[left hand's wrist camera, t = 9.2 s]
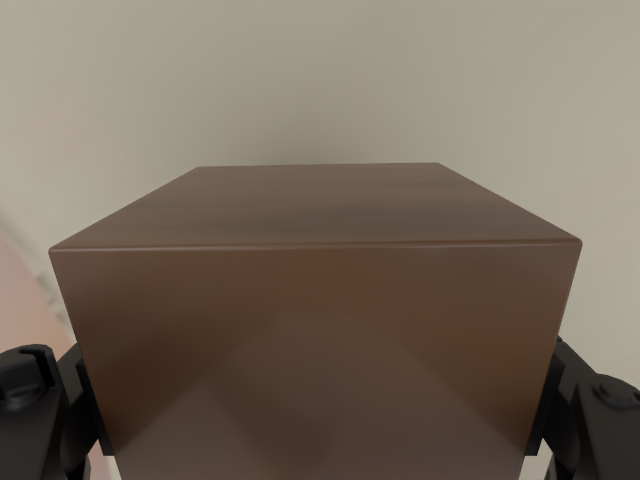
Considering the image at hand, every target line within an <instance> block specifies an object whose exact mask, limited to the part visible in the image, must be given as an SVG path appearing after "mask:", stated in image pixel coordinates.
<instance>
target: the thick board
mask: <svg viewBox="0 0 640 480" xmlns="http://www.w3.org/2000/svg"><path fill="white" fill-rule="evenodd" d="M581 248H582V241H581V239H579V238H577V237H575V236H574V235H572V234H570V233H568V232H566V231H564V230H562V229H560V228H559V227H557V226H555V225H553V224H551V223H549V222H547V221H546V220H544V219H542V218H540V217H538V216H536V215H534V214H533V213H531V212H529V211H527V210H525V209H523V208H521V207H520V206H518V205H516V204H514V203H512V202H510V201H508V200H506V199H505V198H503V197H501V196H499V195H497V194H495V193H493V192H492V191H490V190H488V189H486V188H484V187H482V186H480V185H479V184H477V183H475V182H473V181H471V180H469V179H467V178H465V177H464V176H462V175H460V174H458V173H456V172H454V171H452V170H451V169H449V168H447V167H445V166H443V165H441V164H439V163H389V164H333V165H276V166H220V167H197V168H195V169H193V170H191V171H189V172H188V173H186V174H184V175H182V176H180V177H178V178H177V179H175V180H173V181H171V182H169V183H167V184H166V185H164V186H162V187H160V188H158V189H157V190H155V191H153V192H151V193H149V194H147V195H146V196H144V197H142V198H140V199H138V200H136V201H135V202H133V203H131V204H129V205H127V206H126V207H124V208H122V209H120V210H118V211H116V212H115V213H113V214H111V215H109V216H107V217H105V218H104V219H102V220H100V221H98V222H96V223H95V224H93V225H91V226H89V227H87V228H85V229H84V230H82V231H80V232H78V233H76V234H74V235H73V236H71V237H69V238H67V239H65V240H63V241H62V242H60V243H58V244H56V245H54V246H53V247H51V248H50V249H49V252H48V254H49V257H50V260H51V263H52V266H53V269H54V272H55V275H56V278H57V281H58V284H59V287H60V291H61V294H62V297H63V300H64V303H65V306H66V309H67V312H68V315H69V318H70V321H71V324H72V328H73V331H74V334H75V337H76V340H77V343H78V346H79V349H80V352H81V355H82V358H83V361H84V365H85V368H86V371H87V374H88V377H89V380H90V383H91V386H92V389H93V392H94V395H95V398H96V402H97V405H98V408H99V411H100V414H101V417H102V420H103V423H104V426H105V429H106V432H107V435H108V439H109V442H110V445H111V448H112V451H113V454H114V457H115V460H116V463H117V466H118V469H119V472H120V476H121V479H122V480H518V479H519V476H520V472H521V468H522V465H523V461H524V457H525V454H526V450H527V446H528V443H529V439H530V435H531V432H532V428H533V424H534V421H535V417H536V413H537V410H538V406H539V402H540V399H541V395H542V391H543V388H544V384H545V380H546V377H547V373H548V369H549V366H550V362H551V358H552V355H553V351H554V347H555V344H556V340H557V336H558V333H559V329H560V325H561V322H562V318H563V314H564V311H565V307H566V303H567V300H568V296H569V292H570V289H571V285H572V281H573V278H574V274H575V270H576V267H577V263H578V259H579V256H580V252H581Z"/></svg>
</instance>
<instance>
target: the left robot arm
mask: <svg viewBox="0 0 640 480" xmlns="http://www.w3.org/2000/svg"><path fill="white" fill-rule="evenodd" d="M542 438H544V440H545V441H546V443H547V444H548V446H549V447H550V449H551V451H552V452H553V454H552V457H551V460H550V463H549V466H548V469H547V472H546V475H545V478H544V480H640V391H639V390H638V389H637V388H635V387H633V386H631V385H630V384H628V383H626V382H624V381H622V380H620V379H617V378H614V377H611V376H608V375H604V374H597V373H596V372H595V371H594V370H593V369H592V368H591V367H590V366H589V365H588V364H587V363H586V362H585V361H584V360H583V359H582V358H581V357H580V356H579V355H578V354H577V353H576V352H575V351H574V350H573V349H572V348H571V347H570V346H569V345H568V344H566V343H565V342H563V341H562V339H561V338H560V337H559V336H557V340H556V344H555V347H554V351H553V355H552V358H551V362H550V366H549V369H548V373H547V377H546V380H545V384H544V388H543V391H542V395H541V399H540V402H539V406H538V410H537V413H536V417H535V421H534V424H533V428H532V432H531V435H530V439H529V443H528V446H527V450H526V454H525V456H537V454H538V451H539V447H540V444H541V441H542ZM97 439H98V440H99V443H100V446H101V449H102V453H103V455H104V456H114V454H113V451H112V448H111V445H110V442H109V439H108V435H107V432H106V429H105V426H104V423H103V420H102V417H101V414H100V411H99V408H98V405H97V402H96V398H95V395H94V392H93V389H92V386H91V383H90V380H89V377H88V374H87V371H86V368H85V365H84V361H83V358H82V355H81V352H80V349H79V346H78V343H75V344H74V345H73V346H72V347H71V348H70V350H69V351H68V352H67V353H65V355H64V356H62V357H61V358H60V360H59V361H57V362H56V359H55V357H54V354H53V351H52V349H51V348H50V347H48V346H47V345H41V344H32V345H25V346H20V347H17V348H14V349H10V350H7V351H5V352H3V353H1V354H0V480H90V472H91V465H90V460H89V457H88V453H89V451H90V450H91V448H92V447H93V445H94V444H95V442H96V441H97Z"/></svg>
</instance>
